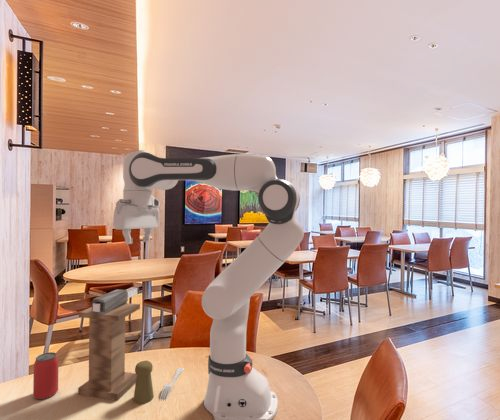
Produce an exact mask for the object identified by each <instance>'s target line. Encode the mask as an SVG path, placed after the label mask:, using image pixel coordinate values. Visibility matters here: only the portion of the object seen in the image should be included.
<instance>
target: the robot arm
mask: <svg viewBox="0 0 500 420" xmlns="http://www.w3.org/2000/svg"><path fill="white" fill-rule="evenodd" d="M122 167H123V171H122V174H123V175H122V178H123V181H124V187H123V191H122V192H123V194H122V195H123V198H120V199H119V200H117V202H116V203H115V207H114V210H113V211H114V212H113V220H112V226H113V228H114V230H121V231H122V236H123V238H124V244H125V245H132V244H133V243H134V241H133V240H134V238H133V237H131V233H132V230H134V229H135V230H137V229H138V230H139V229H140V230H141V229H144V231H143V232H144V236H142V242H144V243H150V241H151V235H152V232H153V229H157V228H159V226H160V210H159V207H161V203H160V200H159V199H157V198H156V197H155V196H154V195H152V194H153V193H152V191H153V189H157V190H162V191H166V190H167V191H168V190H172V189H173V188H175V187H176V186H177V185H178V183H179V181H192V182H198V183H201V184H204V185H208V186H211V187H214V188H216V189H220V190H227V191H253V192H256V193H258V195H257V197H258V198H257V201H258V204H259V207H260V209H261V211H262V212H263V214H264V216H265V218H266V220H267V221H268V224H267V225H266V227H264V229H263V230H262V231H261V232H260V233H259V234H258V235H257V236H256V238H254V239H253V241H251V242H250V244H249V245H248V246H247V247H246V248H245V249H244V250H243V251H242V252H241V253H240V254H238V256H237V257H236V258H235V259H233V260H232V261H231V262H230V263H229V264H228V265H227V266H226V267H225V268H224V269H223V270H222V271H221V272H220V273H219V274H218V275H217V276H216V277H215V278H214V279H213V280H212V281H211V282H209V284H208V286H207V287H206V288H205V290H204V292H203V293H202V296H201V307H202V309H203V311H204V312H205V315H207V316H208V317H210V318H211V319H212V324H211V326H210V332H209V335H210V336H209V337H210V338H209V339H210V340H209V355H208V360H207V371H208V383H207V387H206V394H205V398H204V399H203V400H204V401H203V405H204V408H205V409H206V410H207V411H208V412H209V413H210V414H212V416H213V418H214V420H273V419H274V417H276V416H275V415H276V414H277V411H278V407H279V406H278V405H279V400H278V396H277V394H276V392H275V391H273V390H271V388H270V383H269V380H268V379H267V377H266V376H264V375H263V374H262V373H260V372H259V371H258V370H256V369H255V368H254V367H253V358H254V357H253V355H251V356H249V355H248V353H247V328H248V319H249V314H250V313H249V312H250V301H251V297H252V296H253V295H254V294H255V293H257V291H258V290H259V289H260V288H261V287H262V286H263V285H264V284H265V283H266V282H267V281H268V279H270V277H272V276H273V274H275V272H276V271H278V269H279V268H280V267H282V265H284V263H285V262H287V260H288V259H289V258H290V257H291V256H292V254H293V253H294V252H295V251H296V250H297V248H298V247H299V246H300V244H301V243H302V241H303V239H304V237H305V231H304V228H303V226H302V224H301V223H300V222H299V221H298V220H297V218H296V217H295V213H296V211H297V210H298V208H299V206H300V199H301V198H300V194H299V191H298V189H297V187H295V185H294V184H293V183H292V182H290V181H288V180H285V179H283V178H279V177H278V176H277V169H276V164H275V162H274V161H273V159H272V158H270V157H269V156H267V155H262V154H261V155H259V154H251V153H250V154H249V153H239V154H238V153H234V154H223V155H215V156H208V157H206V156H205V157H200V158H199V157H196V158H192V157H191V158H188V157H187V158H186V157H185V158H181V157H180V158H179V157H178V158H177V157H176V158H173V157H172V158H170V157H167V158H164V157H159V156H156V155H154V154H151V152H148V151H147V150H133V151H130V152H128V153H127V154H126V155H125V157H124V161H123V166H122Z"/></svg>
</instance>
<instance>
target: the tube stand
mask: <svg viewBox="0 0 500 420" xmlns="http://www.w3.org/2000/svg"><path fill="white" fill-rule="evenodd" d="M128 300H129V298H128V292H127V290H126V289H115V290H111V291H110V292H108V293H105V294H102V295H100V296H97V297H95V298H93V299H92V301H91V306H90V307H88V308H86V309H83V310H81V311H79V312H78V317H79V318H85V319H89V322H88V324H89V328H88V330H89V331H88V333H89V335H88V339H89V340H88V380H87V381H86V382H84V383H83V384H82V385H80V386H79V387H77V395H79V396H85V397H93V398H99V399H104V400H105V399H106V400H111V401H119V400H120V399H121V398H122V397H123V396H124V395H125V394H126V393H127V392H128V391H129V390H130V389H131V388H132V387H134V385H136V378H137V374H136V373H135V372H134V373H132V372H127V371H125V370H126V369H125V366H126V365H125V359H126V357H125V355H126V354H125V352H126V348H125V347H126V317H128V316H130V315H132V314H133V313H135V312H137V311H138V310H139V311H140V309H141V304H140V303H128ZM95 302H103V311H101V312H95V311H93V303H95Z"/></svg>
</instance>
